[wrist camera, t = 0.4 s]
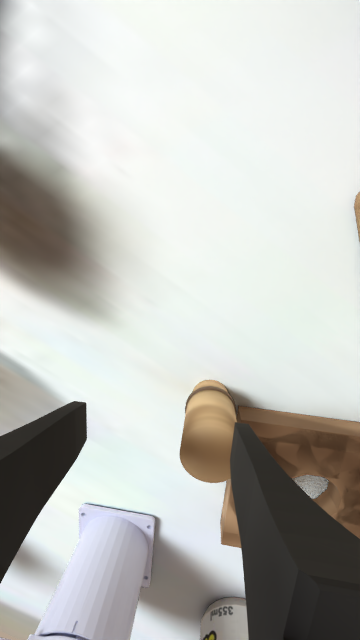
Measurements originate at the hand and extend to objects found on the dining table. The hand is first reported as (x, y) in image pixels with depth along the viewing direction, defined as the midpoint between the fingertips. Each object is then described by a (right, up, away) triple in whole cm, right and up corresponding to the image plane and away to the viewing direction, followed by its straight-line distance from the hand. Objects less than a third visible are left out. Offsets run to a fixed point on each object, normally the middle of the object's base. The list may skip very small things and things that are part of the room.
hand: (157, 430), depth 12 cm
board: (+12, -9, +11) cm, 19 cm away
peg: (+4, -2, +10) cm, 11 cm away
